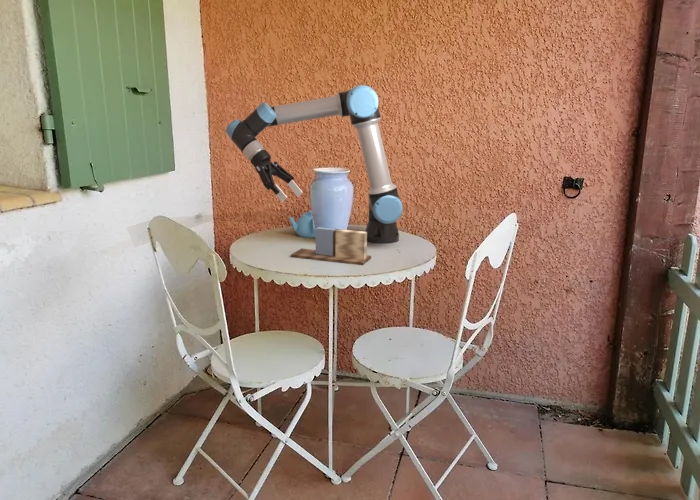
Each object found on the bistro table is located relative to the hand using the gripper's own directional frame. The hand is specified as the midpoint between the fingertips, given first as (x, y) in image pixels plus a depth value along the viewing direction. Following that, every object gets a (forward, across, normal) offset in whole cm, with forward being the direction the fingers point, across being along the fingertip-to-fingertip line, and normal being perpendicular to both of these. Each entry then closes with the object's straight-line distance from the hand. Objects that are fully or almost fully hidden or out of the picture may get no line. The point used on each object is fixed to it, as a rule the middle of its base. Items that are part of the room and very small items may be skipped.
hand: (292, 197), depth 208 cm
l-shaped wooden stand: (+27, +1, -4) cm, 27 cm away
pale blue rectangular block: (+25, +1, -5) cm, 25 cm away
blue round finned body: (+11, -32, -20) cm, 39 cm away
